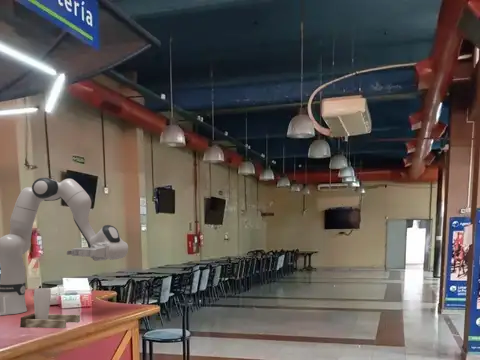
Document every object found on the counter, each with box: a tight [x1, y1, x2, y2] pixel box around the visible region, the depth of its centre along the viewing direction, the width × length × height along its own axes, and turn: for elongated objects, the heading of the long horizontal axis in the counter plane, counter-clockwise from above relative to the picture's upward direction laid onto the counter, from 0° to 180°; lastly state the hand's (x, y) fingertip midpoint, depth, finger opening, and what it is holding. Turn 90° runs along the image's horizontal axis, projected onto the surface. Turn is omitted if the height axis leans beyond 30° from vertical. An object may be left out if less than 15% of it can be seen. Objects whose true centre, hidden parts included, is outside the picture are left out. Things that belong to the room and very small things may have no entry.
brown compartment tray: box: [19, 312, 81, 329], centre depth 197 cm, size 20×13×4 cm, turn 81°
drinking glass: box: [33, 287, 52, 320], centre depth 198 cm, size 7×7×15 cm
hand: (72, 253), depth 211 cm, fingers open, 8 cm apart
